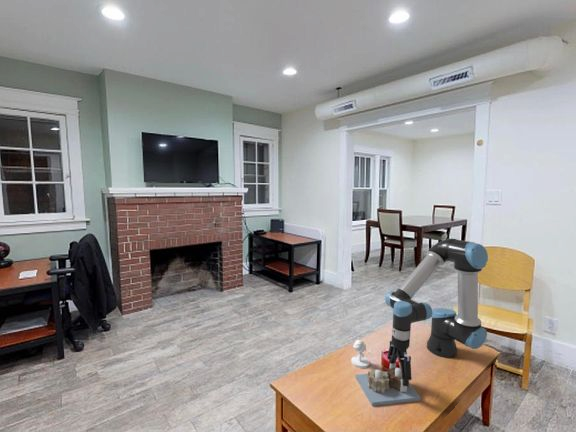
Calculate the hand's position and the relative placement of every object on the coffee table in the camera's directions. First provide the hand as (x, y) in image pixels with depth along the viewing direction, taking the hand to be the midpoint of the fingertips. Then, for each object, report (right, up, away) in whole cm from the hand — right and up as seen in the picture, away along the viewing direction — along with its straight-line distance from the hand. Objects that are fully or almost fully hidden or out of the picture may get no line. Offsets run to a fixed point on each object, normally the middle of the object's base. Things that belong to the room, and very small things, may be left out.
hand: (397, 383), depth 133 cm
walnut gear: (0, 0, 0) cm, 0 cm away
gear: (-9, 0, -1) cm, 10 cm away
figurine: (-12, 0, +18) cm, 22 cm away
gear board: (-5, -2, -1) cm, 6 cm away
